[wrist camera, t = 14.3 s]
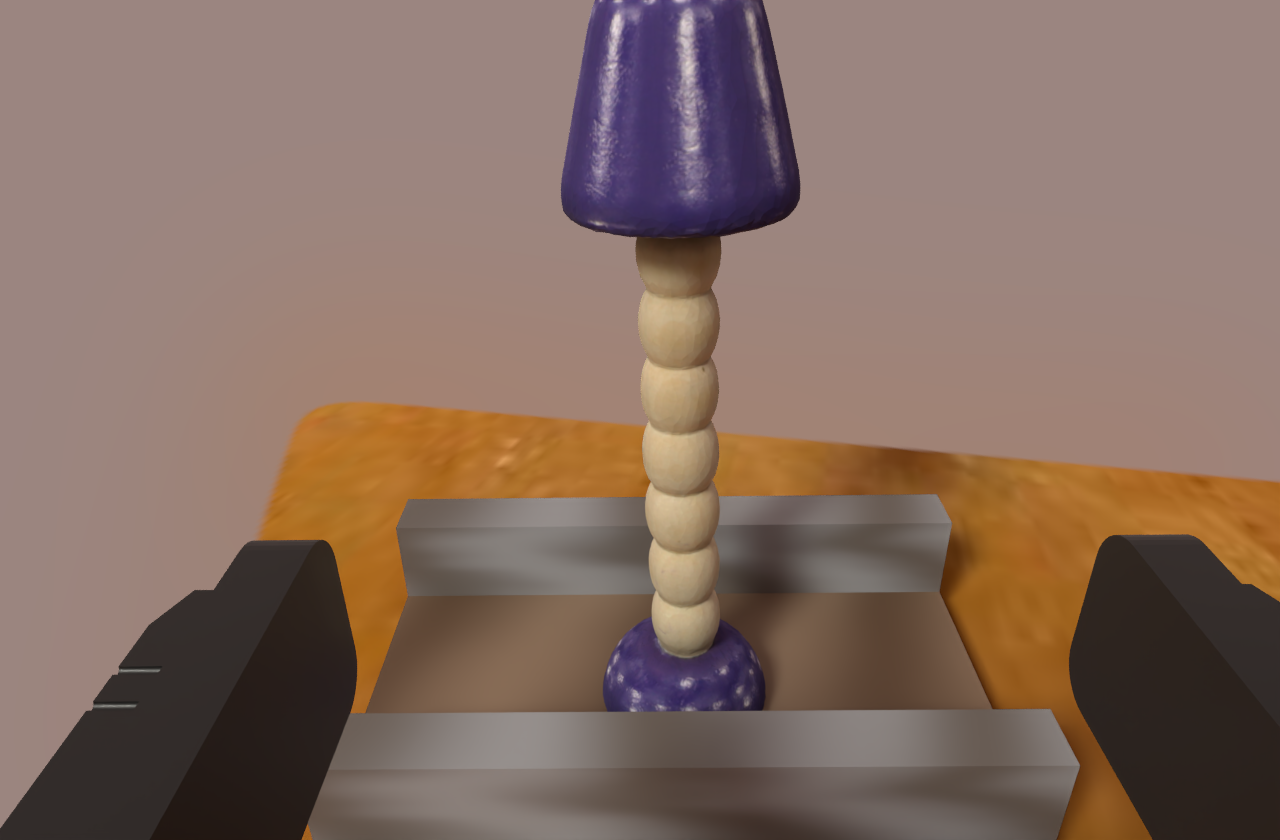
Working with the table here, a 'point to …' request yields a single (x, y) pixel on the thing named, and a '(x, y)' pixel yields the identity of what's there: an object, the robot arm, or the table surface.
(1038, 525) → the table surface
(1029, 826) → the track board
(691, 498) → the toy lamp
